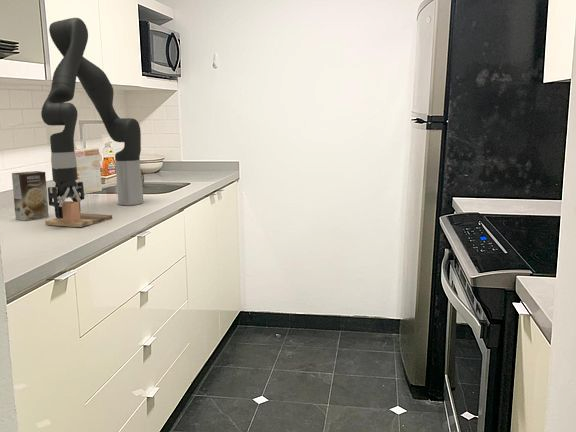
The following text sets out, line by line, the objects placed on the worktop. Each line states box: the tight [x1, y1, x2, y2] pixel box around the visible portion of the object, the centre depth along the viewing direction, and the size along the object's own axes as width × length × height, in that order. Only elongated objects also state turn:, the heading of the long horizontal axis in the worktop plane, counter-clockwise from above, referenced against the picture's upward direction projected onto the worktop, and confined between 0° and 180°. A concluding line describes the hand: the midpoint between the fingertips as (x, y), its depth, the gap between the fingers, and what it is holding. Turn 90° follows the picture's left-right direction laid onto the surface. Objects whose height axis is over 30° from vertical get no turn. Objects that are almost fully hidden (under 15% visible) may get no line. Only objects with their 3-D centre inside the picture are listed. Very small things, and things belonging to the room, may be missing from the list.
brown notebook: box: [80, 212, 113, 225], centre depth 200 cm, size 10×14×1 cm
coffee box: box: [11, 170, 50, 222], centre depth 204 cm, size 9×6×16 cm
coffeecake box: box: [74, 147, 103, 196], centre depth 262 cm, size 15×7×20 cm, turn 152°
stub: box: [44, 200, 94, 228], centre depth 192 cm, size 6×14×7 cm, turn 70°
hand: (68, 215), depth 192 cm, fingers open, 8 cm apart
